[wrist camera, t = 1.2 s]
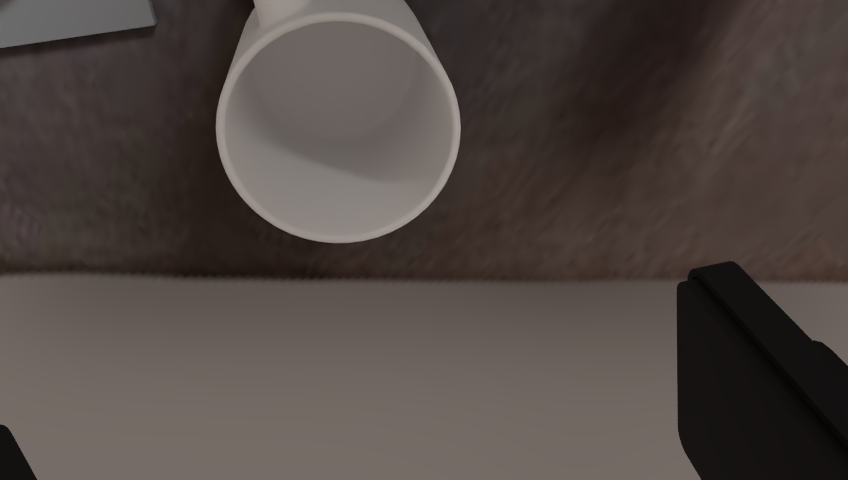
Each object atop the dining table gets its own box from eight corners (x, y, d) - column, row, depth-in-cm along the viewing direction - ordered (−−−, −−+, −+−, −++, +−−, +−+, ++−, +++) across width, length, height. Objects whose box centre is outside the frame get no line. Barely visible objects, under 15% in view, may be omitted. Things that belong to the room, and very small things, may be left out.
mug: (343, -150, 33) (355, -140, 24) (451, 99, 39) (495, 186, 29) (163, -61, 34) (105, -17, 24) (295, 170, 39) (289, 278, 30)
